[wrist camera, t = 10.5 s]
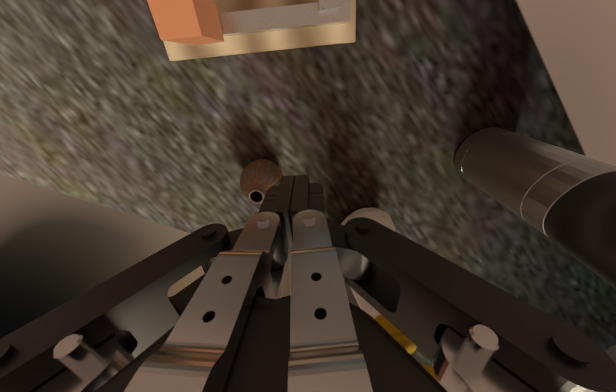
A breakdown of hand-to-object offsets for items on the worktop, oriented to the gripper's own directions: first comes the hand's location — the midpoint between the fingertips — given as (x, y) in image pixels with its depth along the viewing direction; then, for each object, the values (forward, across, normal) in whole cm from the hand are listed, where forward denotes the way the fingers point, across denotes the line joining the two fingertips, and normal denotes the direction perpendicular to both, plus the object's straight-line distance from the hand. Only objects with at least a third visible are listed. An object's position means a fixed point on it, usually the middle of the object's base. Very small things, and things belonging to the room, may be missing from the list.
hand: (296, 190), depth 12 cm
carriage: (+24, +11, -13) cm, 30 cm away
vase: (+26, +8, +10) cm, 29 cm away
